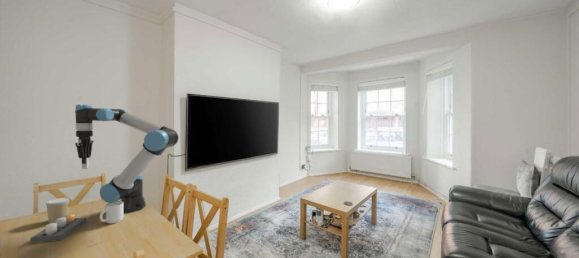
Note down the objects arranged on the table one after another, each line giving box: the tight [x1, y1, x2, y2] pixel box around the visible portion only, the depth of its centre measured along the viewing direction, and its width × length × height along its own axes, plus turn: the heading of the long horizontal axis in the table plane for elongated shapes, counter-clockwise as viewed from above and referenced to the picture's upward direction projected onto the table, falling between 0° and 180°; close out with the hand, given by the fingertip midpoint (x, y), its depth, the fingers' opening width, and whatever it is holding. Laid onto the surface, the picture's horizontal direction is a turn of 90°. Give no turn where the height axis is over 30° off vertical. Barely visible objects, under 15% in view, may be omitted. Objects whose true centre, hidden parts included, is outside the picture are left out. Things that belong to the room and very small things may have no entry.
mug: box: [99, 200, 125, 225], centre depth 131 cm, size 12×8×10 cm
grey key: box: [56, 217, 66, 229], centre depth 120 cm, size 4×4×5 cm
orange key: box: [65, 213, 76, 223], centre depth 126 cm, size 4×4×5 cm
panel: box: [30, 217, 87, 244], centre depth 120 cm, size 12×20×2 cm, turn 14°
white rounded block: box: [44, 223, 57, 236], centre depth 113 cm, size 4×4×5 cm
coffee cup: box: [45, 197, 70, 224], centre depth 131 cm, size 9×9×12 cm
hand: (85, 168), depth 137 cm, fingers closed
